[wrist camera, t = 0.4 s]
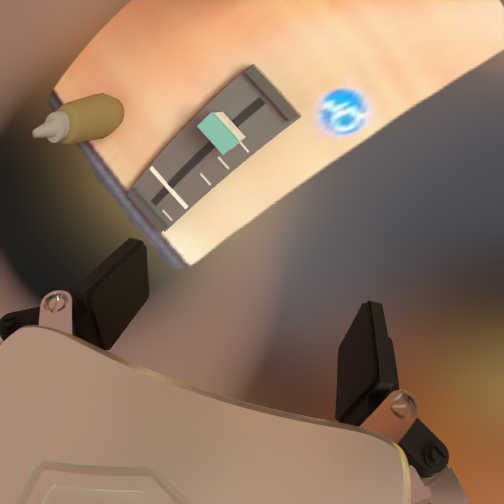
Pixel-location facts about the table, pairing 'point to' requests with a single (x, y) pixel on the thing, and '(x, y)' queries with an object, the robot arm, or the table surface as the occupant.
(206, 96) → the table surface
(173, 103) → the table surface
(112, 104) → the squeeze bottle
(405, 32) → the table surface
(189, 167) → the console board
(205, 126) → the fader knob
